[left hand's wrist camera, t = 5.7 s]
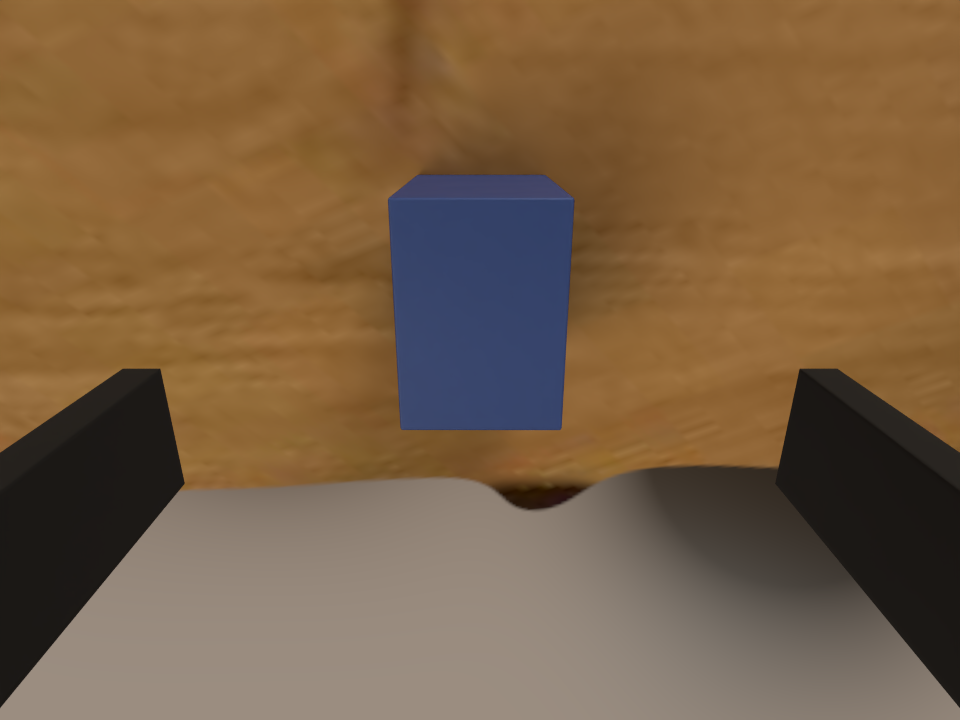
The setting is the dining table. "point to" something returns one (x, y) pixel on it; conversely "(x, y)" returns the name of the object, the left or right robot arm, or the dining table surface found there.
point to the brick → (481, 300)
